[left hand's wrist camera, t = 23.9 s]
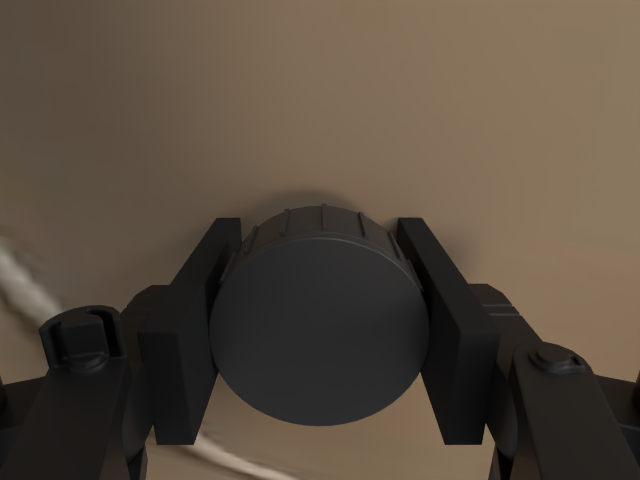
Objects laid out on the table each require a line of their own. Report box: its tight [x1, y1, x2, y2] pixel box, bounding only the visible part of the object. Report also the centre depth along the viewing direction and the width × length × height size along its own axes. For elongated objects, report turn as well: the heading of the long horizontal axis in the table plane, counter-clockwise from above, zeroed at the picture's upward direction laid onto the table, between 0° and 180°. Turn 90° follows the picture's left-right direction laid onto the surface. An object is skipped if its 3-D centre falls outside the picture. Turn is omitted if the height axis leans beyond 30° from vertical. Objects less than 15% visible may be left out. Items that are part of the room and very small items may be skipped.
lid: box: [208, 204, 430, 426], centre depth 11 cm, size 5×5×2 cm
